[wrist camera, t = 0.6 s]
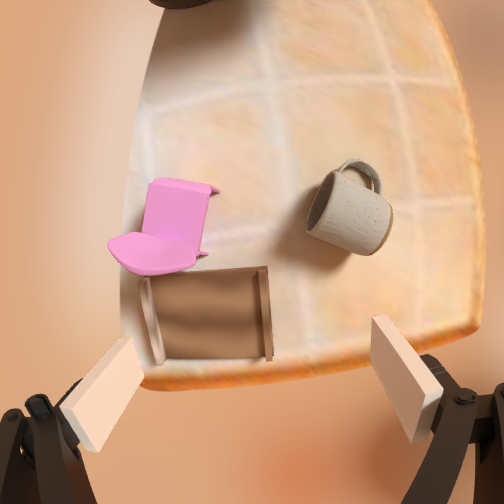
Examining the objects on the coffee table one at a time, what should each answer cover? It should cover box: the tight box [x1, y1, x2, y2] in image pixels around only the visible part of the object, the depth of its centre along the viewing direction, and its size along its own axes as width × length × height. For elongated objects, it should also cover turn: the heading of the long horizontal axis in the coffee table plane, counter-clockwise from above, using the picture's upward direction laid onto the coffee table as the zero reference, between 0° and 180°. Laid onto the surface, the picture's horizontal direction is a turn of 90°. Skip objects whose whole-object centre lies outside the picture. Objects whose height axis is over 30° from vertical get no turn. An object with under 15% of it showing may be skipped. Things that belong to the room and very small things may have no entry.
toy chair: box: [107, 178, 220, 276], centre depth 29 cm, size 8×9×15 cm
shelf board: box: [138, 266, 274, 366], centre depth 37 cm, size 12×16×4 cm
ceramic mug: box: [306, 159, 393, 256], centre depth 31 cm, size 11×8×8 cm
